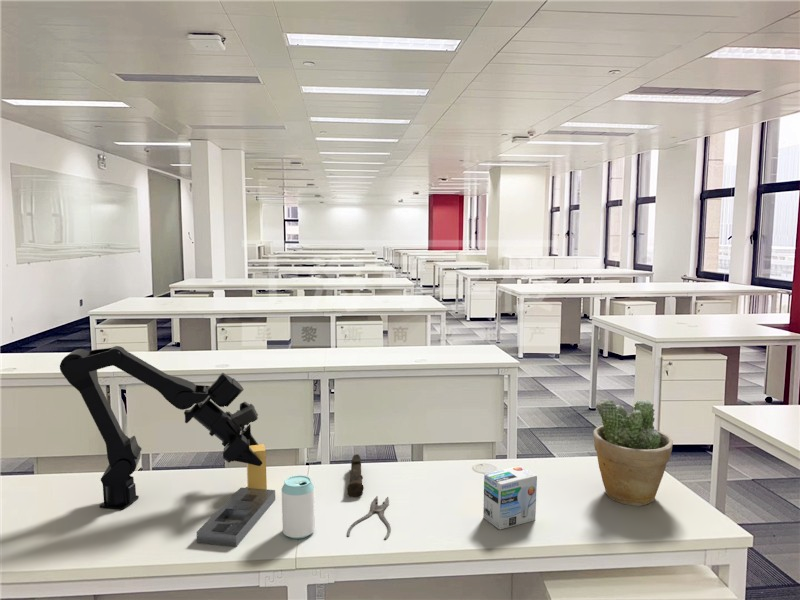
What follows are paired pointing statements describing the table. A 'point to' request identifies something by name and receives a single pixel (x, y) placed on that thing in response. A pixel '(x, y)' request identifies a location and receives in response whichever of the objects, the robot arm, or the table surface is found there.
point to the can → (298, 507)
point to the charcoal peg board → (236, 517)
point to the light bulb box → (509, 497)
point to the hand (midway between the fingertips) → (261, 458)
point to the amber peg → (257, 469)
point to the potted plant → (630, 452)
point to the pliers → (373, 510)
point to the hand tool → (355, 478)
